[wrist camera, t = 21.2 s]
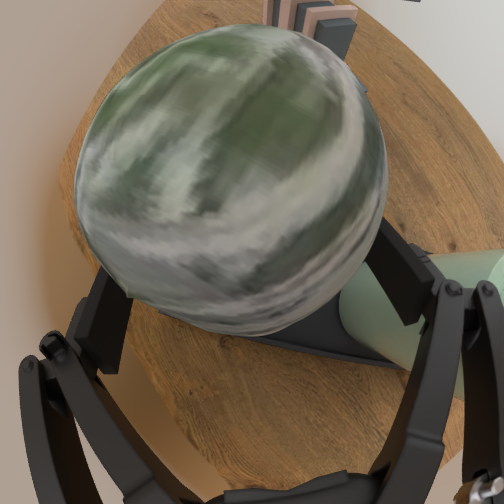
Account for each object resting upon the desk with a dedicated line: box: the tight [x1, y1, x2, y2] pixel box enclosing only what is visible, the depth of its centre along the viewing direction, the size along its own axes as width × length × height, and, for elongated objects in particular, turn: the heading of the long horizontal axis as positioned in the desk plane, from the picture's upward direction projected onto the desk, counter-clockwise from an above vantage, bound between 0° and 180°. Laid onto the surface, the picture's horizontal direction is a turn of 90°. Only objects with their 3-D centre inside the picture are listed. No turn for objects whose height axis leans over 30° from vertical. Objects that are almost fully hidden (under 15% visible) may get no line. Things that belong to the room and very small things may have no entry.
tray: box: [158, 250, 433, 370], centre depth 30 cm, size 31×14×3 cm, turn 75°
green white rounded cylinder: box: [74, 24, 388, 336], centre depth 17 cm, size 10×10×28 cm
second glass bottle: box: [339, 248, 504, 402], centre depth 16 cm, size 10×10×28 cm
